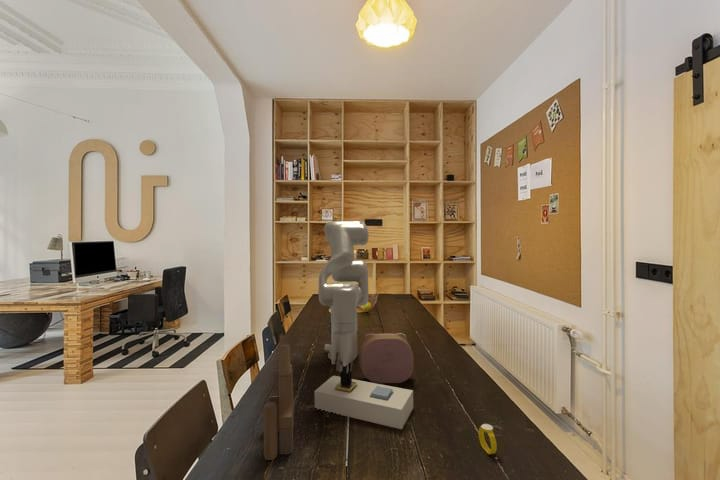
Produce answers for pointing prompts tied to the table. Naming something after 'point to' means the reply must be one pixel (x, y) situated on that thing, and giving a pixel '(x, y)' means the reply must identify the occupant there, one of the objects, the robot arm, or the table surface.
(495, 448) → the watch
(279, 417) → the wooden toy
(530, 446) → the table surface
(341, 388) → the brass button
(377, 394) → the slate-blue button
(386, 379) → the face sculpture
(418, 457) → the table surface
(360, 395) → the button console
